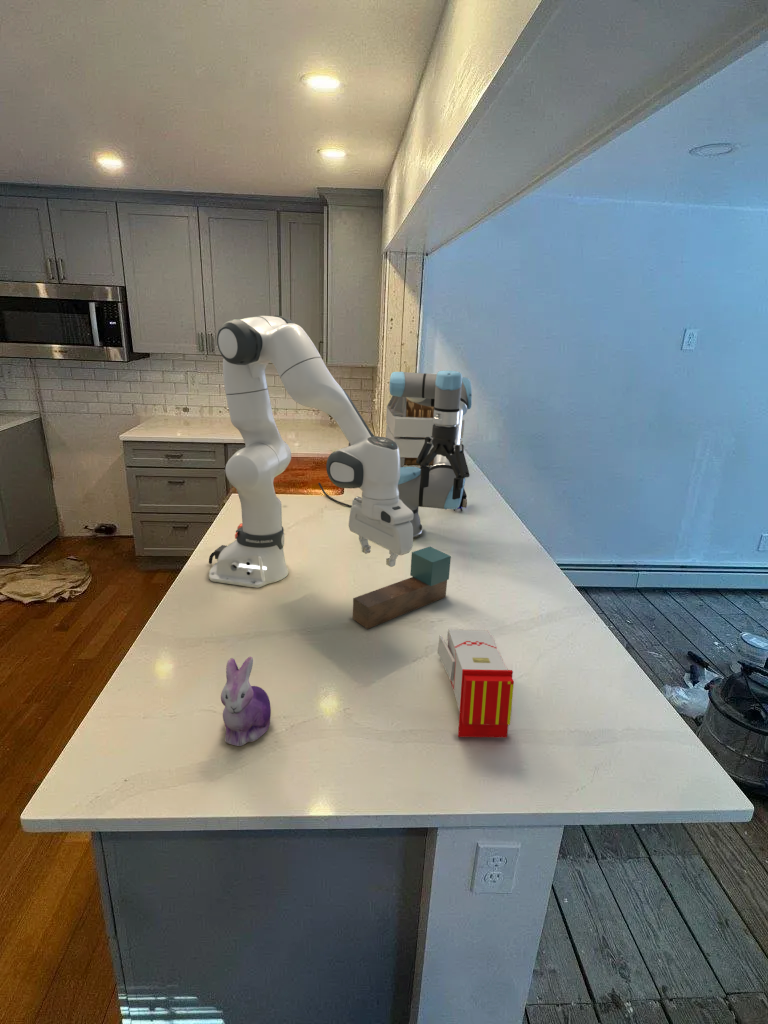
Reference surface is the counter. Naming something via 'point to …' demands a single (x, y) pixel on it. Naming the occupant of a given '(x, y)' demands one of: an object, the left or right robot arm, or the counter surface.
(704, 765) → the counter surface
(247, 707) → the figurine
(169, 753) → the counter surface
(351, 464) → the left robot arm
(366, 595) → the plank
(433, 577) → the cap block
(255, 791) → the counter surface
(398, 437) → the white storage bin
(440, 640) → the toy
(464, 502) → the figurine character
